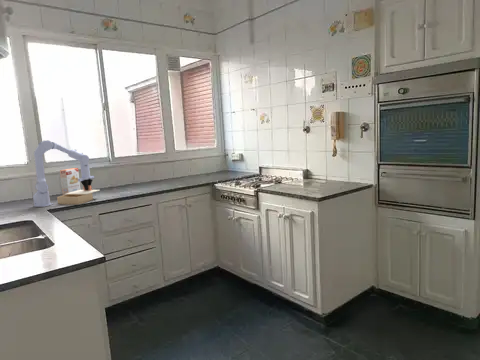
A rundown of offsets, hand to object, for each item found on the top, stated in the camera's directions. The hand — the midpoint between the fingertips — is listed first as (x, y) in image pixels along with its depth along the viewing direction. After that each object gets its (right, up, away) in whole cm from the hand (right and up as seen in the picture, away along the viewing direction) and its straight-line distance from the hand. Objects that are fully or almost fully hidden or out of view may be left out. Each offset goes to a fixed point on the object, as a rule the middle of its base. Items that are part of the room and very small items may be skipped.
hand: (87, 189), depth 243 cm
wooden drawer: (-3, -8, -11) cm, 14 cm away
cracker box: (-19, -5, +15) cm, 24 cm away
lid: (-1, -2, -5) cm, 5 cm away
